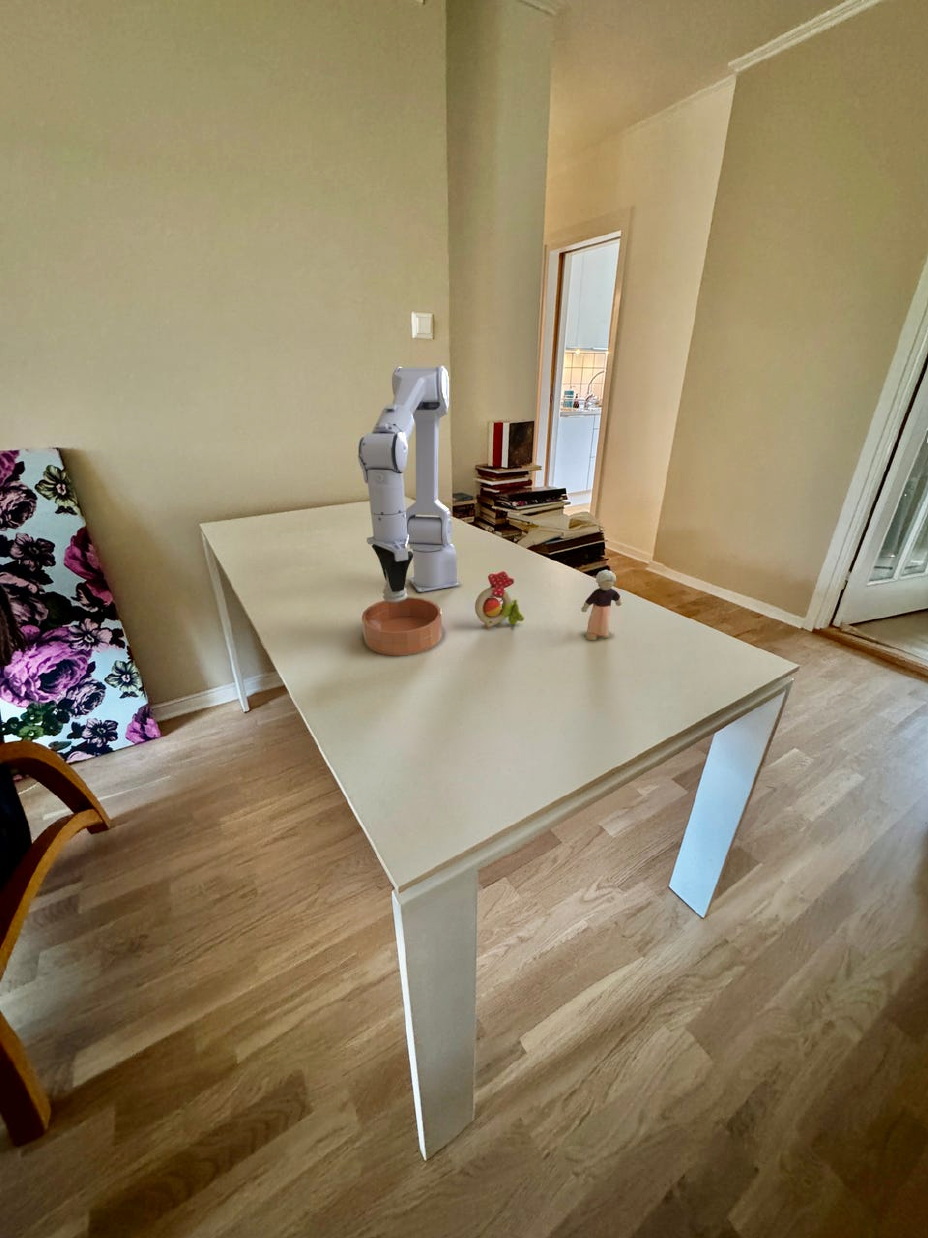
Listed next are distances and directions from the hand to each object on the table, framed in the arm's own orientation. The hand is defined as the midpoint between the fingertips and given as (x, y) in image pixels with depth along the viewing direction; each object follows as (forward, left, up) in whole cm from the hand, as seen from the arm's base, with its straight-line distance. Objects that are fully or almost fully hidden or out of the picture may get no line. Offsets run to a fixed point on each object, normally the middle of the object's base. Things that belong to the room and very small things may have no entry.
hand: (395, 586), depth 86 cm
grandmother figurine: (-33, +16, -10) cm, 38 cm away
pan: (0, +2, -9) cm, 10 cm away
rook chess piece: (0, 0, -3) cm, 3 cm away
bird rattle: (-18, +5, -10) cm, 21 cm away
